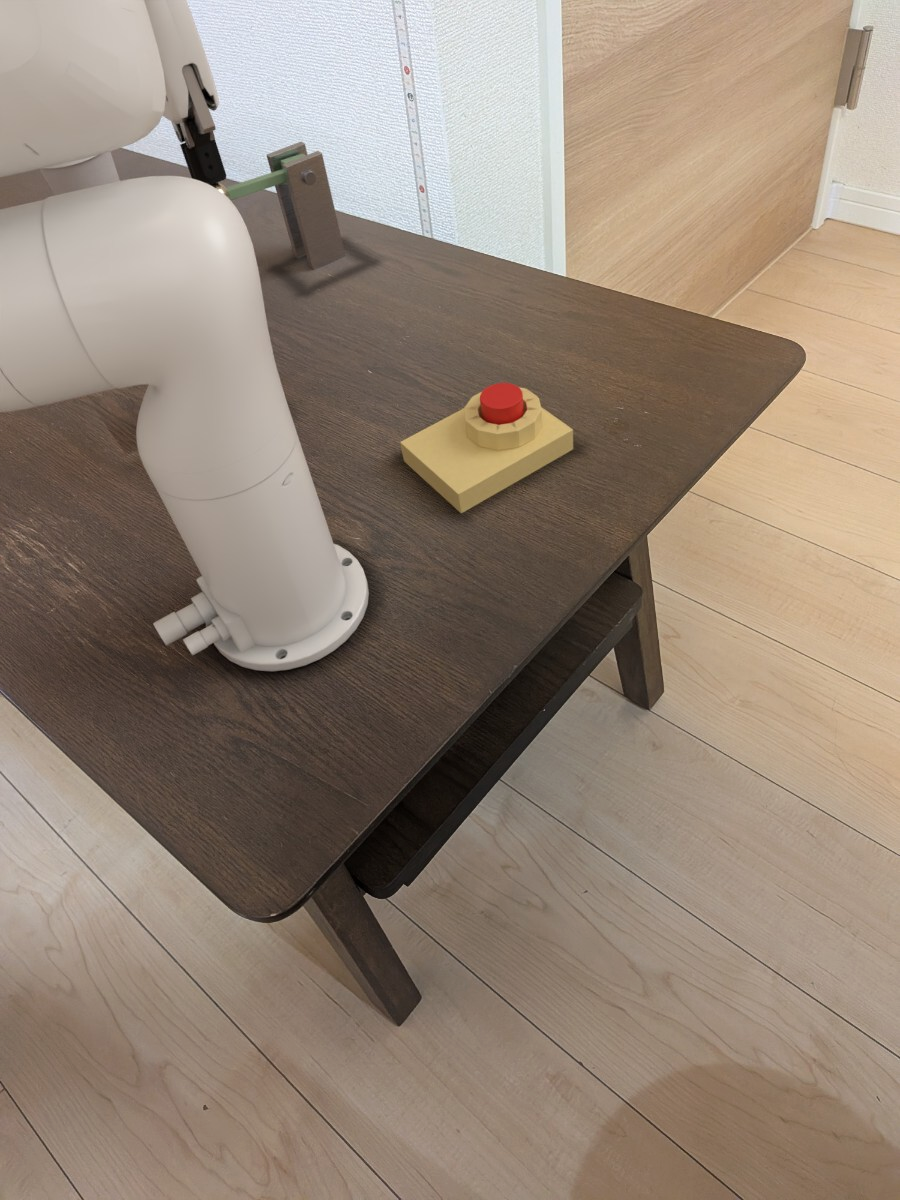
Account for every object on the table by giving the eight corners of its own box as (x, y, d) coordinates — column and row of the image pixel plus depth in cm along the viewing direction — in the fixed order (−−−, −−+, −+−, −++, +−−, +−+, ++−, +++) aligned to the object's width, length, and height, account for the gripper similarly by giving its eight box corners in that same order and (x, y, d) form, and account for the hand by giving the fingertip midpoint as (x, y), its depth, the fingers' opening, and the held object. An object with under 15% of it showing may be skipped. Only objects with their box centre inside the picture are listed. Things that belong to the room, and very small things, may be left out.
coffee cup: (164, 235, 110) (116, 113, 98) (135, 272, 104) (80, 146, 92) (101, 238, 112) (46, 118, 100) (68, 274, 106) (6, 151, 94)
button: (498, 431, 69) (496, 414, 67) (473, 412, 71) (471, 395, 69) (532, 412, 70) (531, 395, 68) (506, 394, 72) (505, 377, 70)
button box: (461, 513, 68) (455, 477, 65) (403, 461, 73) (396, 425, 70) (573, 449, 71) (573, 412, 68) (510, 403, 77) (507, 367, 74)
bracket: (304, 292, 95) (273, 178, 85) (274, 268, 100) (241, 158, 90) (370, 263, 98) (347, 149, 88) (338, 241, 102) (312, 130, 93)
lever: (211, 222, 87) (202, 191, 84) (199, 213, 89) (190, 182, 86) (318, 186, 91) (313, 155, 89) (305, 178, 93) (299, 148, 91)
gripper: (73, -33, 75) (152, 174, 89) (127, -7, 67) (206, 217, 81) (148, -55, 78) (214, 150, 92) (211, -33, 69) (273, 190, 83)
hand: (210, 181), depth 86 cm, fingers closed
